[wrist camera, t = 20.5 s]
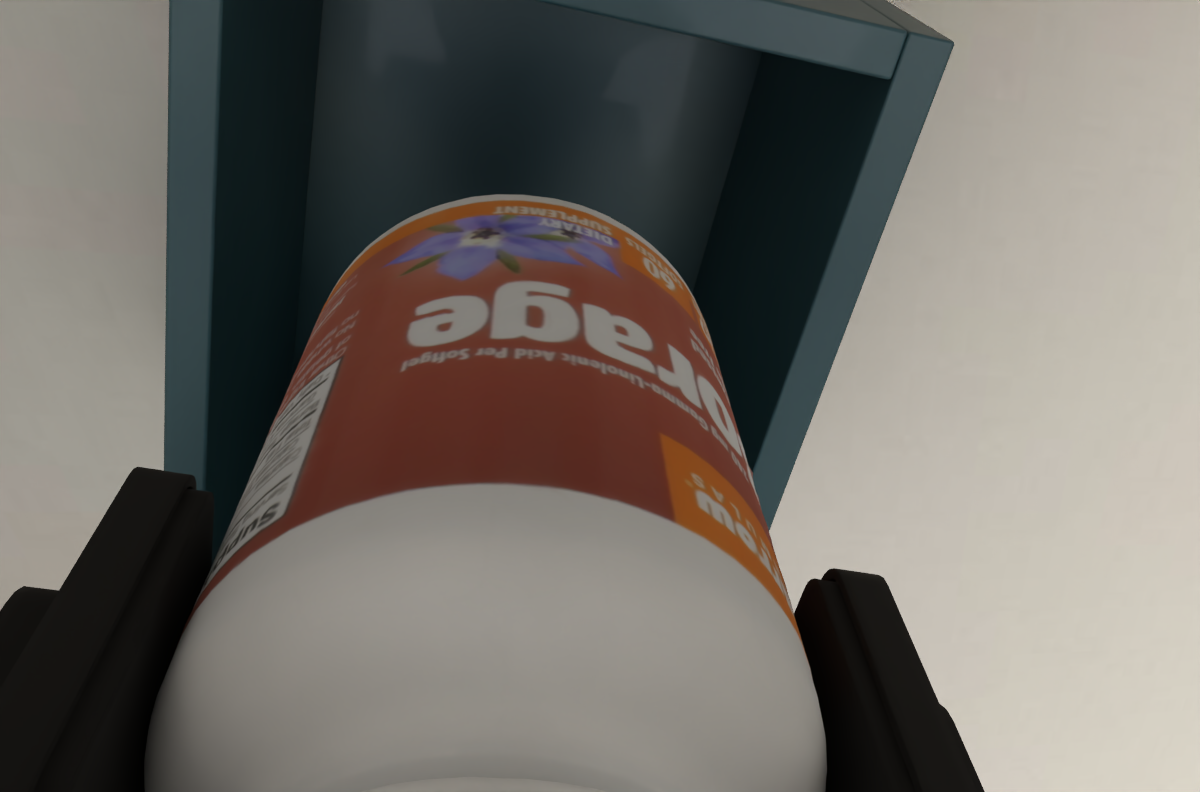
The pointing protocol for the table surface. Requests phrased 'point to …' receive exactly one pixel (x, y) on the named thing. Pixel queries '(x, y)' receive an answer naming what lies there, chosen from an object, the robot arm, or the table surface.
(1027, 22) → the table surface
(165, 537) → the robot arm
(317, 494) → the pill bottle
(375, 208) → the teal open container
